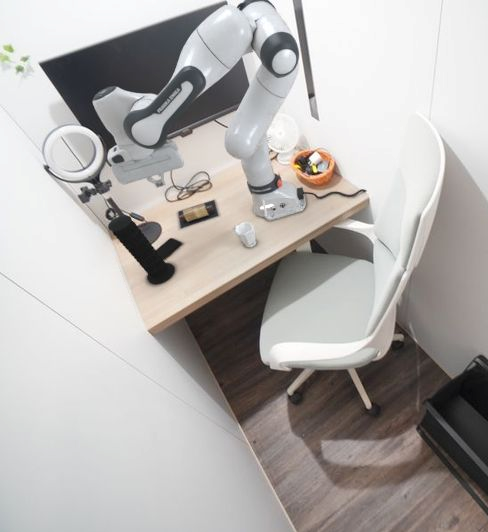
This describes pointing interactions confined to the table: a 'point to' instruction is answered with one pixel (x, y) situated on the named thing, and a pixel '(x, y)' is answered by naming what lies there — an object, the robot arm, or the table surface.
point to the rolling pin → (195, 212)
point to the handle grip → (141, 249)
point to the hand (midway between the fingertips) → (161, 185)
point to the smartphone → (168, 247)
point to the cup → (246, 233)
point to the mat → (211, 214)
